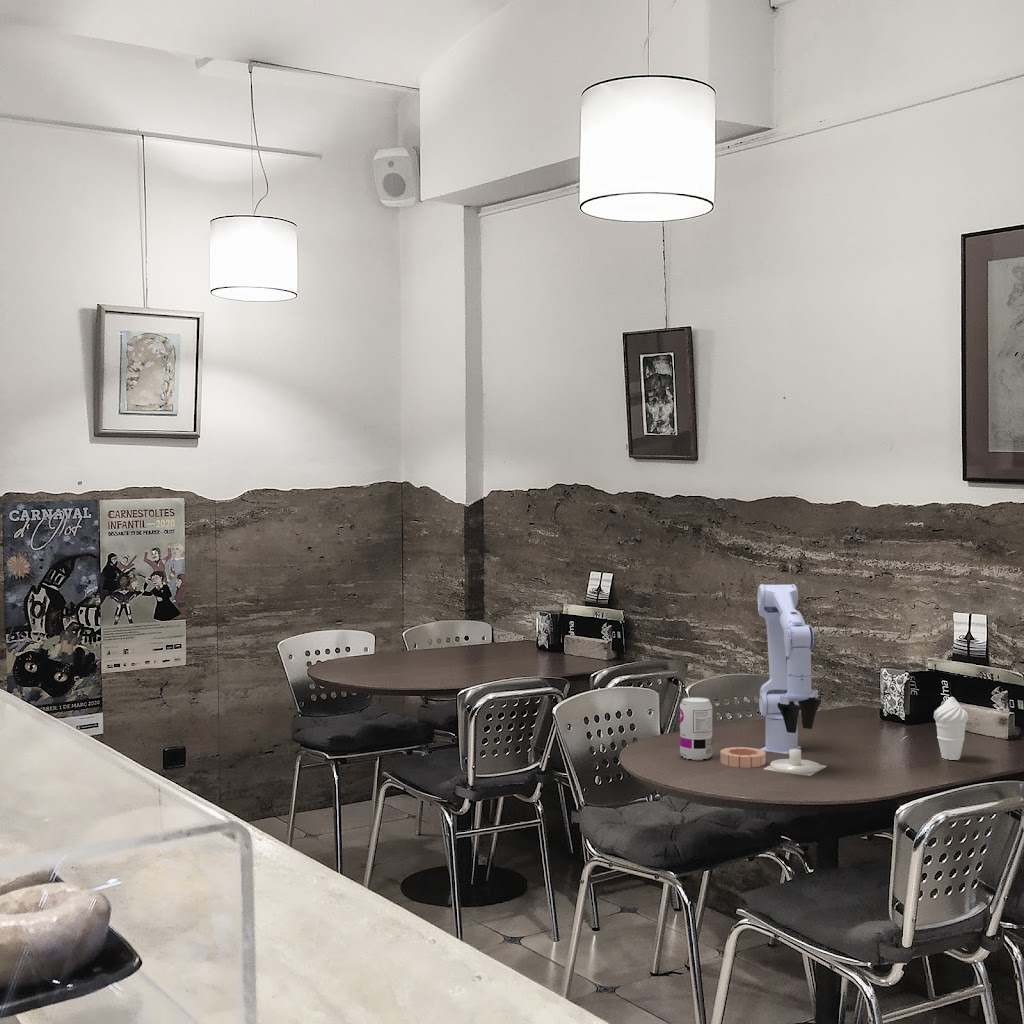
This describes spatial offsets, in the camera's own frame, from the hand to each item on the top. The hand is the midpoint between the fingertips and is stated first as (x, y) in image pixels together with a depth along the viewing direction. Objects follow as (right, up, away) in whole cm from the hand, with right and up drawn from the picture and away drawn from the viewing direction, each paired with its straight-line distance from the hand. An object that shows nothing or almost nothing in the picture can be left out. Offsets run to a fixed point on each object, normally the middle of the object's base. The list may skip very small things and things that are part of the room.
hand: (799, 730), depth 284 cm
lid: (0, -10, +2) cm, 10 cm away
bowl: (-12, -10, +8) cm, 18 cm away
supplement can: (-23, -10, +16) cm, 29 cm away
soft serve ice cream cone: (+42, -10, +12) cm, 44 cm away
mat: (0, -10, +2) cm, 10 cm away
